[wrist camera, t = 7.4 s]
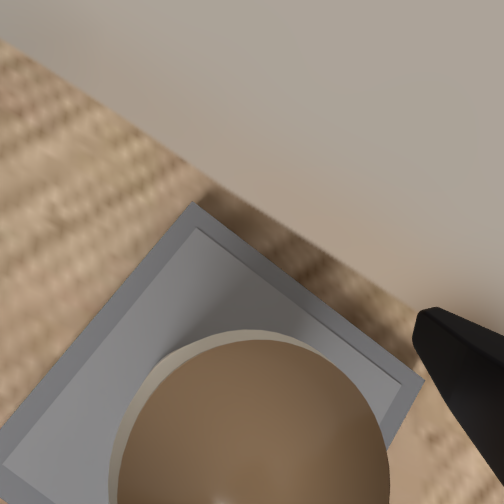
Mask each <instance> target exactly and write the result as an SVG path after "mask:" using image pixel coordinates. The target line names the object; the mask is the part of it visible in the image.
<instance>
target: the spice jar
mask: <svg viewBox="0 0 504 504" xmlns="http://www.w3.org/2000/svg"><path fill="white" fill-rule="evenodd" d="M108 496H109V504H389V496H390V474H389V463H388V457H387V451H386V446H385V443H384V439H383V436H382V432H381V430H380V427H379V425H378V422H377V420H376V417H375V415H374V413H373V411H372V410H371V408H370V406H369V404H368V402H367V401H366V399H365V398H364V396H363V395H362V393H361V392H360V391H359V389H358V388H357V387H356V385H355V384H354V383H353V382H352V381H351V380H350V379H349V378H348V377H347V376H346V375H345V374H344V373H343V372H342V371H341V370H340V369H338V368H337V367H336V365H335V364H334V363H333V362H331V361H330V360H329V359H328V358H327V357H325V356H324V355H323V354H322V353H320V352H319V351H317V350H316V349H314V348H313V347H311V346H309V345H308V344H306V343H304V342H302V341H299V340H297V339H295V338H293V337H290V336H287V335H283V334H280V333H277V332H271V331H264V330H246V329H244V330H235V331H227V332H223V333H219V334H215V335H211V336H208V337H206V338H203V339H201V340H198V341H196V342H193V343H191V344H189V345H186V346H184V347H182V348H179V349H177V350H175V351H173V352H171V353H169V354H168V355H166V356H165V357H164V358H162V359H161V360H160V361H159V362H158V363H157V364H156V365H155V366H154V367H153V368H152V370H151V371H150V372H149V374H148V375H147V377H146V378H145V380H144V382H143V383H142V385H141V386H140V388H139V390H138V391H137V393H136V394H135V396H134V398H133V399H132V401H131V402H130V404H129V406H128V408H127V410H126V412H125V414H124V416H123V418H122V420H121V422H120V425H119V428H118V431H117V434H116V437H115V440H114V443H113V448H112V453H111V458H110V463H109V475H108Z"/></svg>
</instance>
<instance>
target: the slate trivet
mask: <svg viewBox="0 0 504 504" xmlns="http://www.w3.org/2000/svg"><path fill="white" fill-rule="evenodd" d="M244 329H246V330H264V331H271V332H277V333H280V334H283V335H287V336H290V337H293V338H295V339H297V340H299V341H302V342H304V343H306V344H308V345H309V346H311V347H313V348H314V349H316V350H317V351H319V352H320V353H322V354H323V355H324V356H325V357H327V358H328V359H329V360H330V361H331V362H333V363H334V364H335V365H336V367H337V368H338V369H340V370H341V371H342V372H343V373H344V374H345V375H346V376H347V377H348V378H349V379H350V380H351V381H352V382H353V383H354V384H355V385H356V387H357V388H358V389H359V391H360V392H361V393H362V395H363V396H364V398H365V399H366V401H367V402H368V404H369V406H370V408H371V410H372V411H373V413H374V415H375V417H376V420H377V422H378V425H379V427H380V430H381V432H382V436H383V439H384V443H385V446H386V451H387V450H388V448H389V446H390V444H391V442H392V440H393V439H394V437H395V435H396V433H397V431H398V429H399V428H400V426H401V424H402V422H403V420H404V418H405V417H406V415H407V413H408V411H409V409H410V407H411V405H412V404H413V402H414V400H415V398H416V396H417V394H418V393H419V391H420V389H421V387H422V385H423V383H424V382H425V380H424V379H423V378H422V377H420V376H419V375H418V374H416V373H415V372H414V371H413V370H411V369H410V368H409V367H407V366H406V365H405V364H403V363H402V362H401V361H400V360H398V359H397V358H396V357H394V356H393V355H392V354H390V353H389V352H388V351H387V350H385V349H384V348H383V347H381V346H380V345H379V344H377V343H376V342H375V341H374V340H372V339H371V338H370V337H368V336H367V335H366V334H364V333H363V332H362V331H361V330H359V329H358V328H357V327H355V326H354V325H353V324H351V323H350V322H349V321H348V320H346V319H345V318H344V317H342V316H341V315H340V314H338V313H337V312H336V311H335V310H333V309H332V308H331V307H329V306H328V305H327V304H325V303H324V302H323V301H322V300H320V299H319V298H318V297H316V296H315V295H314V294H312V293H311V292H310V291H309V290H307V289H306V288H305V287H303V286H302V285H301V284H300V283H298V282H297V281H296V280H294V279H293V278H292V277H290V276H289V275H288V274H287V273H285V272H284V271H283V270H281V269H280V268H279V267H277V266H276V265H275V264H274V263H272V262H271V261H270V260H268V259H267V258H266V257H264V256H263V255H262V254H261V253H259V252H258V251H257V250H255V249H254V248H253V247H251V246H250V245H249V244H248V243H246V242H245V241H244V240H242V239H241V238H240V237H238V236H237V235H236V234H235V233H233V232H232V231H231V230H229V229H228V228H227V227H225V226H224V225H223V224H222V223H220V222H219V221H218V220H216V219H215V218H214V217H212V216H211V215H210V214H209V213H207V212H206V211H205V210H203V209H202V208H201V207H199V206H198V205H197V204H196V203H194V202H193V201H192V202H191V203H190V205H189V206H188V207H187V208H186V209H185V211H184V212H183V213H182V214H181V215H180V216H179V218H178V219H177V220H176V221H175V222H174V224H173V225H172V226H171V227H170V228H169V230H168V231H167V232H166V233H165V234H164V235H163V237H162V238H161V239H160V240H159V241H158V243H157V244H156V245H155V246H154V247H153V248H152V250H151V251H150V252H149V253H148V254H147V256H146V257H145V258H144V259H143V260H142V262H141V263H140V264H139V265H138V266H137V267H136V269H135V270H134V271H133V272H132V273H131V275H130V276H129V277H128V278H127V279H126V281H125V282H124V283H123V284H122V285H121V286H120V288H119V289H118V290H117V291H116V292H115V294H114V295H113V296H112V297H111V298H110V299H109V301H108V302H107V303H106V304H105V305H104V307H103V308H102V309H101V310H100V311H99V313H98V314H97V315H96V316H95V317H94V318H93V320H92V321H91V322H90V323H89V324H88V326H87V327H86V328H85V329H84V330H83V332H82V333H81V334H80V335H79V336H78V337H77V339H76V340H75V341H74V342H73V343H72V345H71V346H70V347H69V348H68V349H67V350H66V352H65V353H64V354H63V355H62V356H61V358H60V359H59V360H58V361H57V362H56V364H55V365H54V366H53V367H52V368H51V369H50V371H49V372H48V373H47V374H46V375H45V377H44V378H43V379H42V380H41V381H40V383H39V384H38V385H37V386H36V387H35V388H34V390H33V391H32V392H31V393H30V394H29V396H28V397H27V398H26V399H25V400H24V401H23V403H22V404H21V405H20V406H19V407H18V409H17V410H16V411H15V412H14V413H13V415H12V416H11V417H10V418H9V419H8V420H7V422H6V423H5V424H4V425H3V426H2V428H1V429H0V498H2V499H3V500H4V501H6V502H7V503H8V504H109V496H108V475H109V463H110V458H111V453H112V448H113V443H114V440H115V437H116V434H117V431H118V428H119V425H120V422H121V420H122V418H123V416H124V414H125V412H126V410H127V408H128V406H129V404H130V402H131V401H132V399H133V398H134V396H135V394H136V393H137V391H138V390H139V388H140V386H141V385H142V383H143V382H144V380H145V378H146V377H147V375H148V374H149V372H150V371H151V370H152V368H153V367H154V366H155V365H156V364H157V363H158V362H159V361H160V360H161V359H162V358H164V357H165V356H166V355H168V354H169V353H171V352H173V351H175V350H177V349H179V348H182V347H184V346H186V345H189V344H191V343H193V342H196V341H198V340H201V339H203V338H206V337H208V336H211V335H215V334H219V333H223V332H227V331H235V330H244Z"/></svg>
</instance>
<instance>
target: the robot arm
mask: <svg viewBox="0 0 504 504" xmlns="http://www.w3.org/2000/svg"><path fill="white" fill-rule="evenodd" d="M412 341H413V345H414V348H415V350H416V352H417V353H418V355H419V357H420V359H421V360H422V362H423V364H424V366H425V368H426V369H427V371H428V373H429V375H430V376H431V378H432V380H433V382H434V384H435V385H436V387H437V389H438V391H439V392H440V394H441V396H442V398H443V399H444V401H445V403H446V404H447V406H448V407H449V409H450V410H451V412H452V413H453V415H454V416H455V418H456V419H457V421H458V422H459V424H460V425H461V426H462V428H463V429H464V431H465V432H466V434H467V435H468V436H469V438H470V439H471V441H472V442H473V444H474V445H475V446H476V448H477V449H478V451H479V452H480V454H481V455H482V456H483V458H484V459H485V461H486V462H487V464H488V465H489V466H490V468H491V469H492V471H493V472H494V474H495V475H496V476H497V478H498V479H499V481H500V482H501V483H502V485H503V486H504V336H503V335H500V334H498V333H496V332H494V331H491V330H489V329H487V328H485V327H482V326H480V325H478V324H476V323H473V322H471V321H469V320H466V319H464V318H462V317H460V316H457V315H455V314H453V313H450V312H448V311H446V310H443V309H441V308H439V307H432V308H428V309H424V310H421V311H420V312H419V313H418V315H417V319H416V323H415V327H414V331H413V335H412Z"/></svg>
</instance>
